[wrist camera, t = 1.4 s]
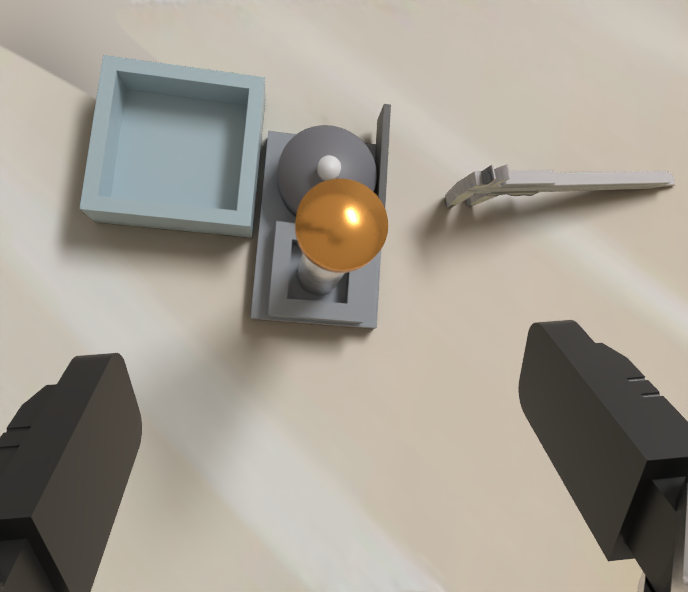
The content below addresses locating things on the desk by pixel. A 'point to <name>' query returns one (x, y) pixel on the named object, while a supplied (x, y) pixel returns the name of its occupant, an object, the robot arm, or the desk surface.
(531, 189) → the caliper
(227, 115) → the tray
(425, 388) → the desk surface
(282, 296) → the plate
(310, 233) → the pin
